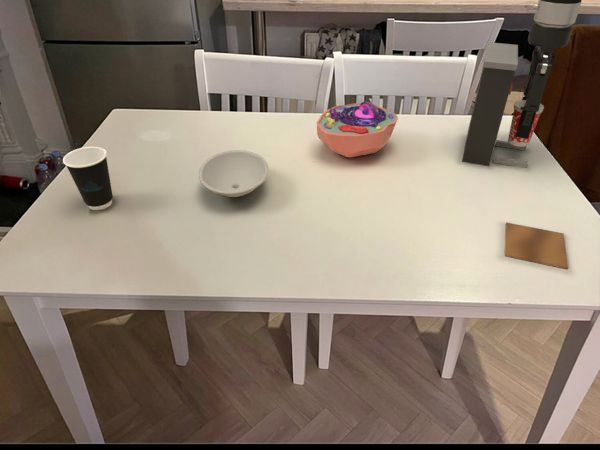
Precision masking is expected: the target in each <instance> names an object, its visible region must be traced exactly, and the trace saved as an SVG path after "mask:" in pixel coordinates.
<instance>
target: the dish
mask: <svg viewBox="0 0 600 450" xmlns="http://www.w3.org/2000/svg"><path fill="white" fill-rule="evenodd" d="M269 172H270V167H269V164H268V162H267V161H266V159H264V158H263V157H262V156H261V155H260V154H258V153H256V152H253V151H249V150H244V149H232V150H225V151H222V152H218V153H216V154H214V155H212V156H210V157H208V158H207V159H206V160H205V161H204V162H203V163H202V164H201V165H200V168H199V170H198V179H199V182H200V183H201V185H202V186H203V187H204V188H205V189H207V190H209V191H210V192H213V193H215V194H217V195H219V196H222V197H228V198H238V197H243V196H245V195H248V194H250V193H251V192H254V190H255V189H257V188H258V187H259V186H261V185H262V184H263V183H264V182H265V181H266V179H267V178H268V176H269Z"/></svg>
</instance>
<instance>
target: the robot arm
mask: <svg viewBox="0 0 600 450" xmlns="http://www.w3.org/2000/svg"><path fill="white" fill-rule="evenodd" d="M537 2H538V3H534V4H533V6H532V9H533V10H535V12H534V16H533V21H534V22H533V23H531V26H530V29H529V33H528V37H527V42H528V44H530V45H531V46H534V50H533V51H532V54H531V62H530V65H529V71H528V74H527V77H526V81H525V85H524V86H523V90H524V91H523V96H522V98H521V100H526V103H525V106H524V107H521V108H520V110H522V114H521V117H520V121H519V124H518V128H517V131H516V135H515V137H520V138H529V135H530V131H531V128H532V125H533V122H534V118H535V115H536V112H538V110H539V106H540V103H541V104H542V99H543V95H544V94H545V92H544V91H545V90H546V86H547V82H548V79H549V75H550V73H551V70H552V68H553V64H554V62H555V58H556V55H555V52H554V50H555V49H557V48H558V49H561V48H565V47H566V46H568V44H569V42H570V38H571V35H572V32H573V29H574V27H573V26H572V25H573V24H575V23H576V22H577V21H576V20H577V17H578V15H579V11H580V8H581V5H582V0H538V1H537Z"/></svg>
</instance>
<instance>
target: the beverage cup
mask: <svg viewBox="0 0 600 450" xmlns="http://www.w3.org/2000/svg"><path fill="white" fill-rule="evenodd" d="M525 103H526V100H522V99H520V100H516V101H514V103H513V113H512V118H511V122H510V128H509V133H508V136H507V142H509V143H510V144H512V145H514V146H519V147H524V146H527V147H528V146H529V145H530V142H531V140H532V137H533V134H534V132H535V130H536V127H537V124H538V121H539V119H540V116H541V114H542V113H543V111H544V109H545V106H544V104H543V103H542V102H541V103H540V106H539V110H538V112H536V115H535V118H534V122H533V125H532V128H531V131H530V135H529V138H520V137H515V135H516V131H517V128H518V124H519V121H520V117H521V114H522V110H520V108H521V107H524V106H525Z"/></svg>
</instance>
